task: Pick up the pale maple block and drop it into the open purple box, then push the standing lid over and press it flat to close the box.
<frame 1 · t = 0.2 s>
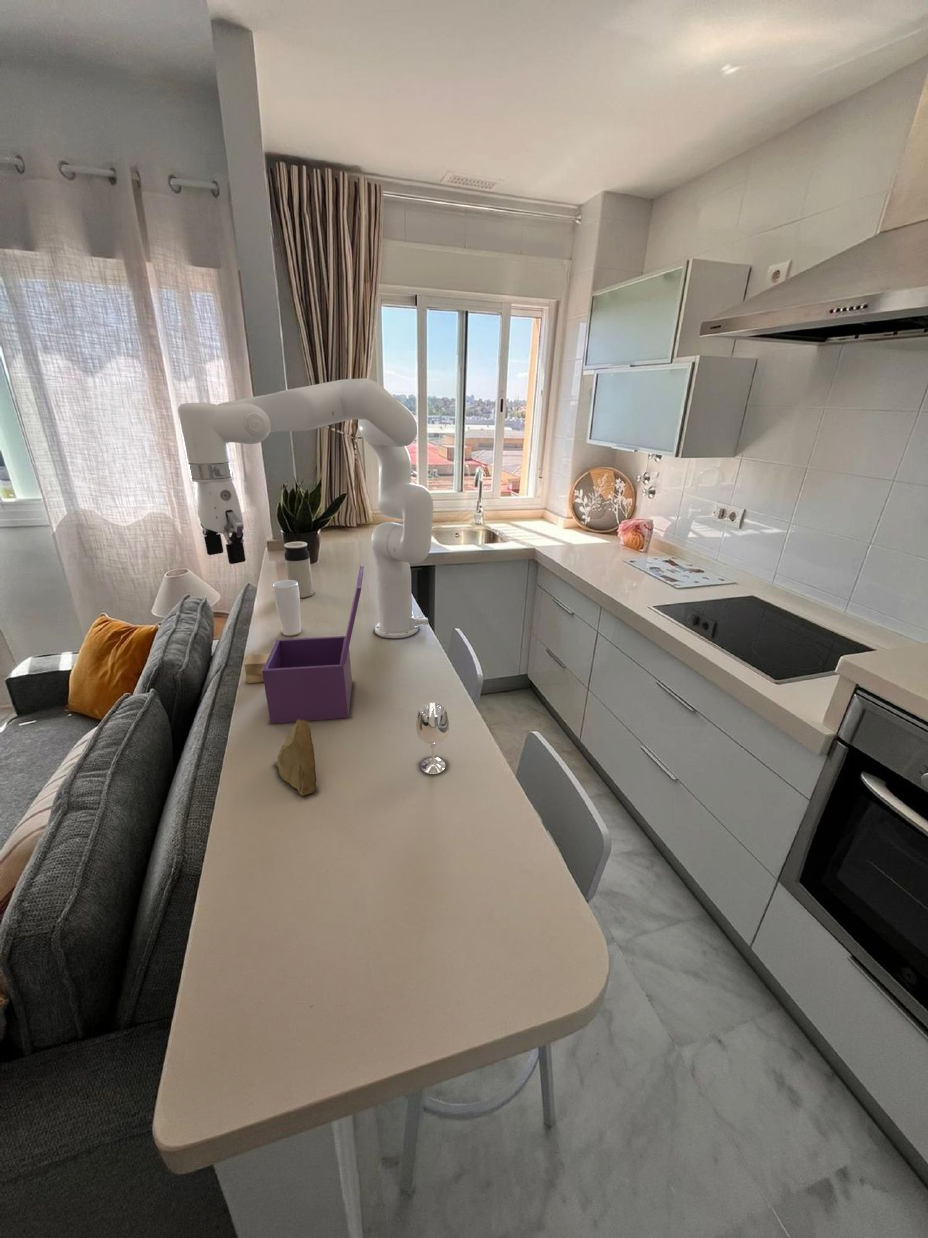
hand: (226, 558, 102), 31 cm above the worktop, tool pointing down, fingers open, 9 cm apart
wineglass: (433, 766, 90), on the worktop
purple box: (314, 702, 109), on the worktop
travel mug: (301, 595, 173), on the worktop
drinking glass: (292, 633, 143), on the worktop
lid: (353, 613, 103), point 21 cm above the worktop, hinge at 105.0°
block: (261, 677, 119), on the worktop
rock: (296, 779, 86), on the worktop
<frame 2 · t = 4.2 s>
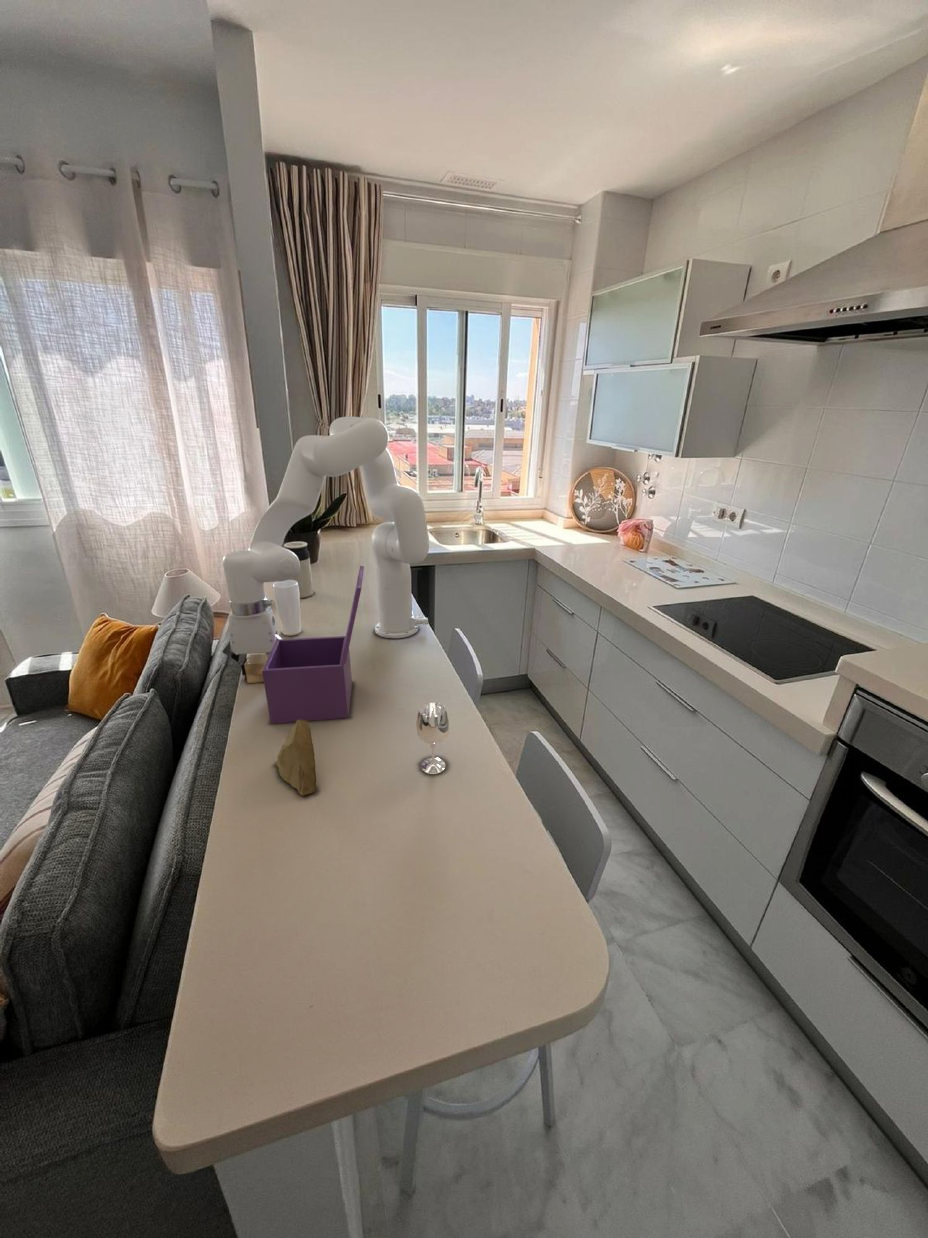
hand: (260, 675, 119), 0 cm above the worktop, tool pointing down, fingers closed on block, 5 cm apart
block: (261, 677, 119), on the worktop, touching gripper
everything else where it was.
when the fingers open (10 cm above the worktop, at t = 12.0 s): block drops 9 cm, resting on purple box.
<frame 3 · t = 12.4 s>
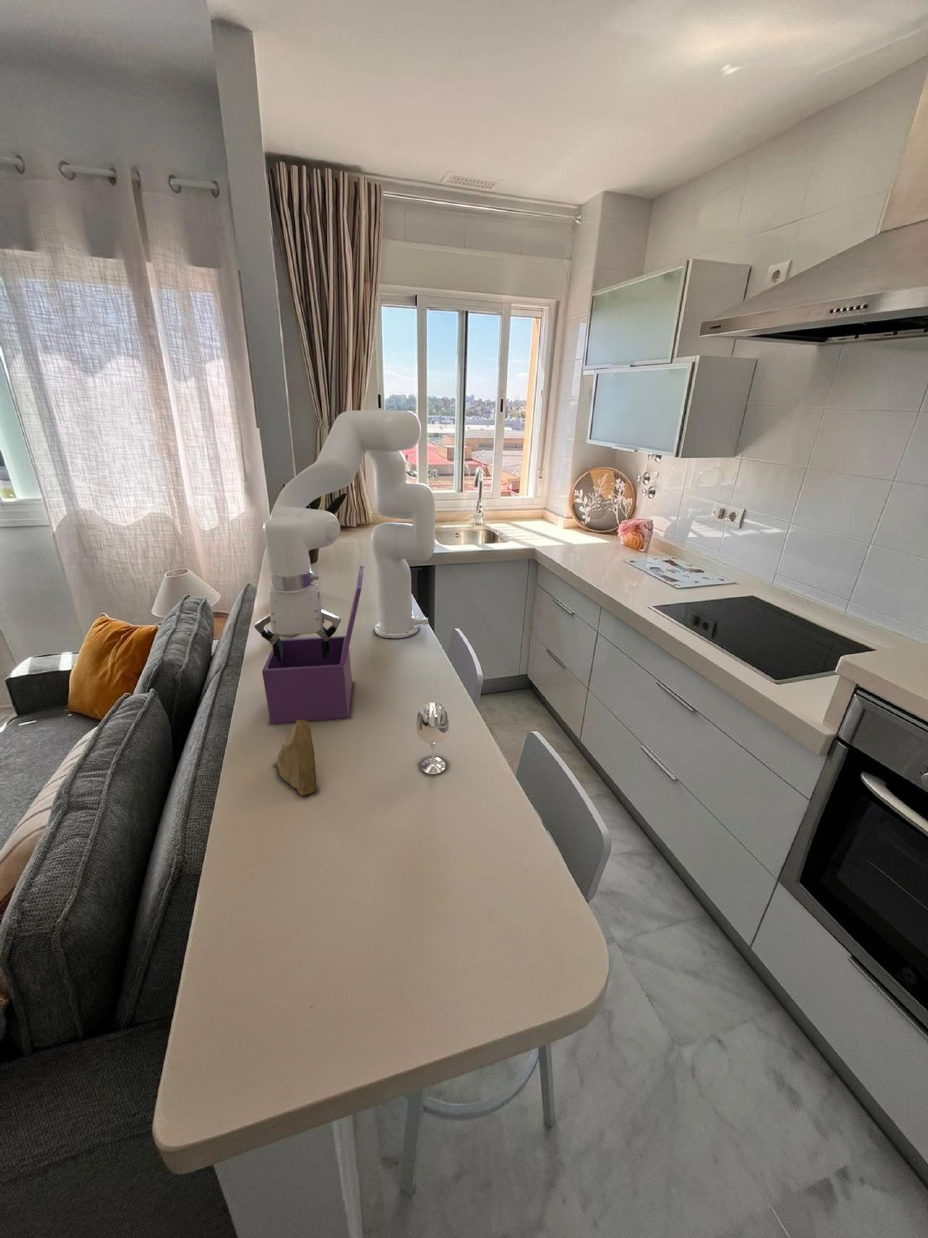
hand: (303, 656, 105), 11 cm above the worktop, tool pointing down, fingers open, 8 cm apart
block: (304, 699, 109), point 1 cm above the worktop, touching purple box
everything else where it was.
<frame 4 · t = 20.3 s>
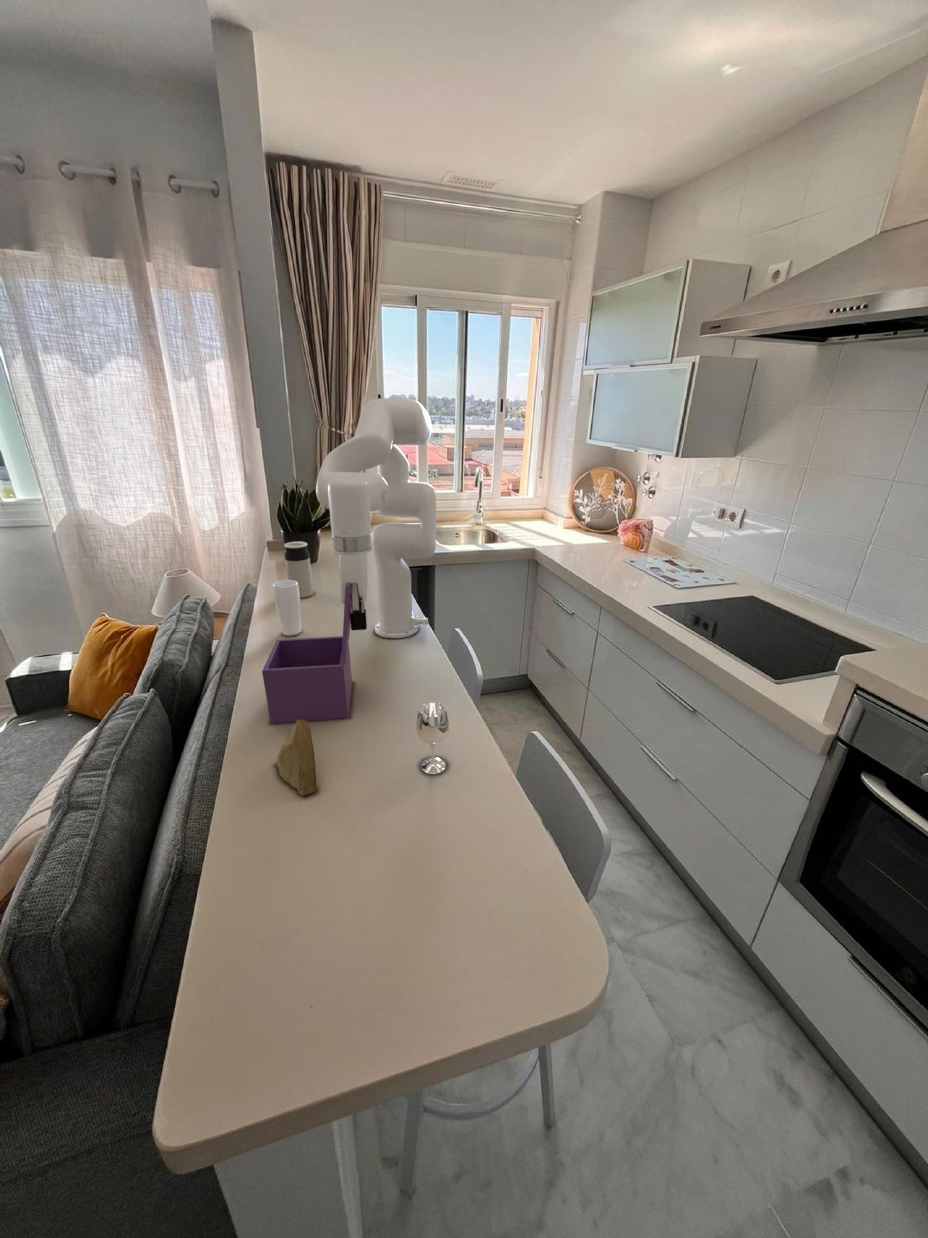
hand: (359, 628, 104), 17 cm above the worktop, tool pointing down, fingers closed
lid: (347, 612, 102), point 21 cm above the worktop, hinge at 97.4°, touching gripper
everything else where it was.
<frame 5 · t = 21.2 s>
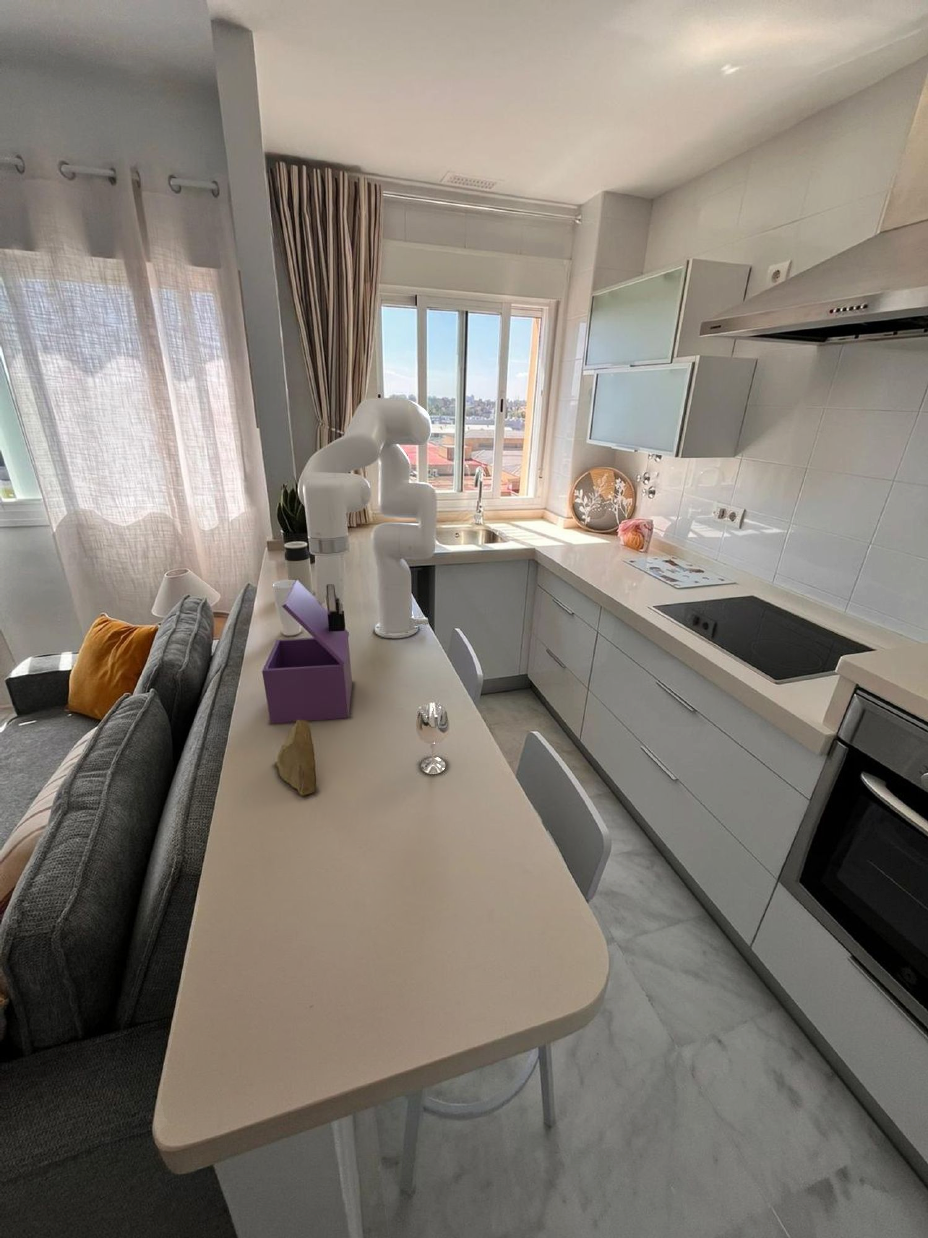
hand: (337, 629, 103), 17 cm above the worktop, tool pointing down, fingers closed
lid: (318, 620, 102), point 19 cm above the worktop, hinge at 52.8°, touching gripper
everything else where it was.
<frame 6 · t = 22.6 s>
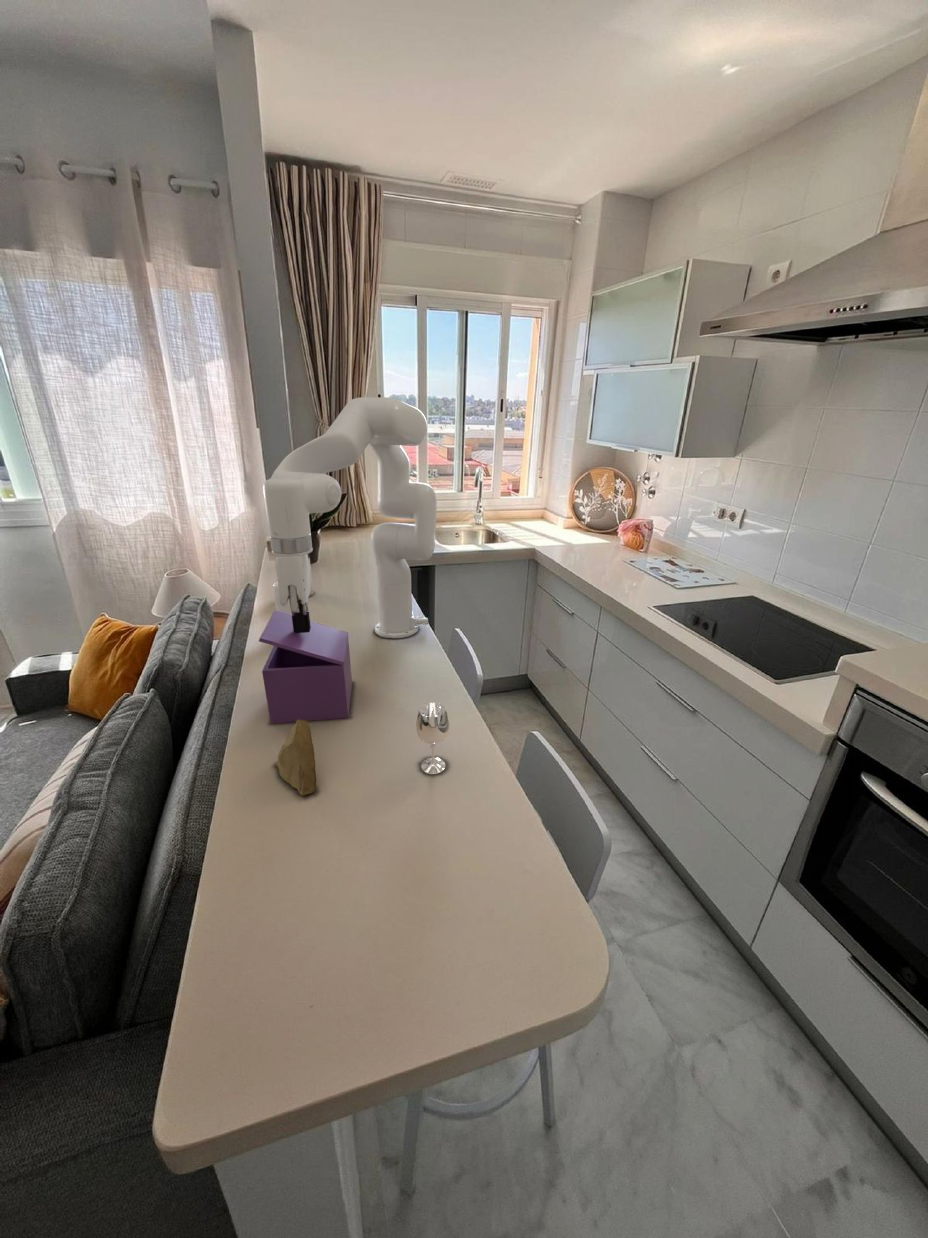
hand: (302, 630, 102), 17 cm above the worktop, tool pointing down, fingers closed
lid: (307, 636, 103), point 16 cm above the worktop, hinge at 22.4°
everything else where it was.
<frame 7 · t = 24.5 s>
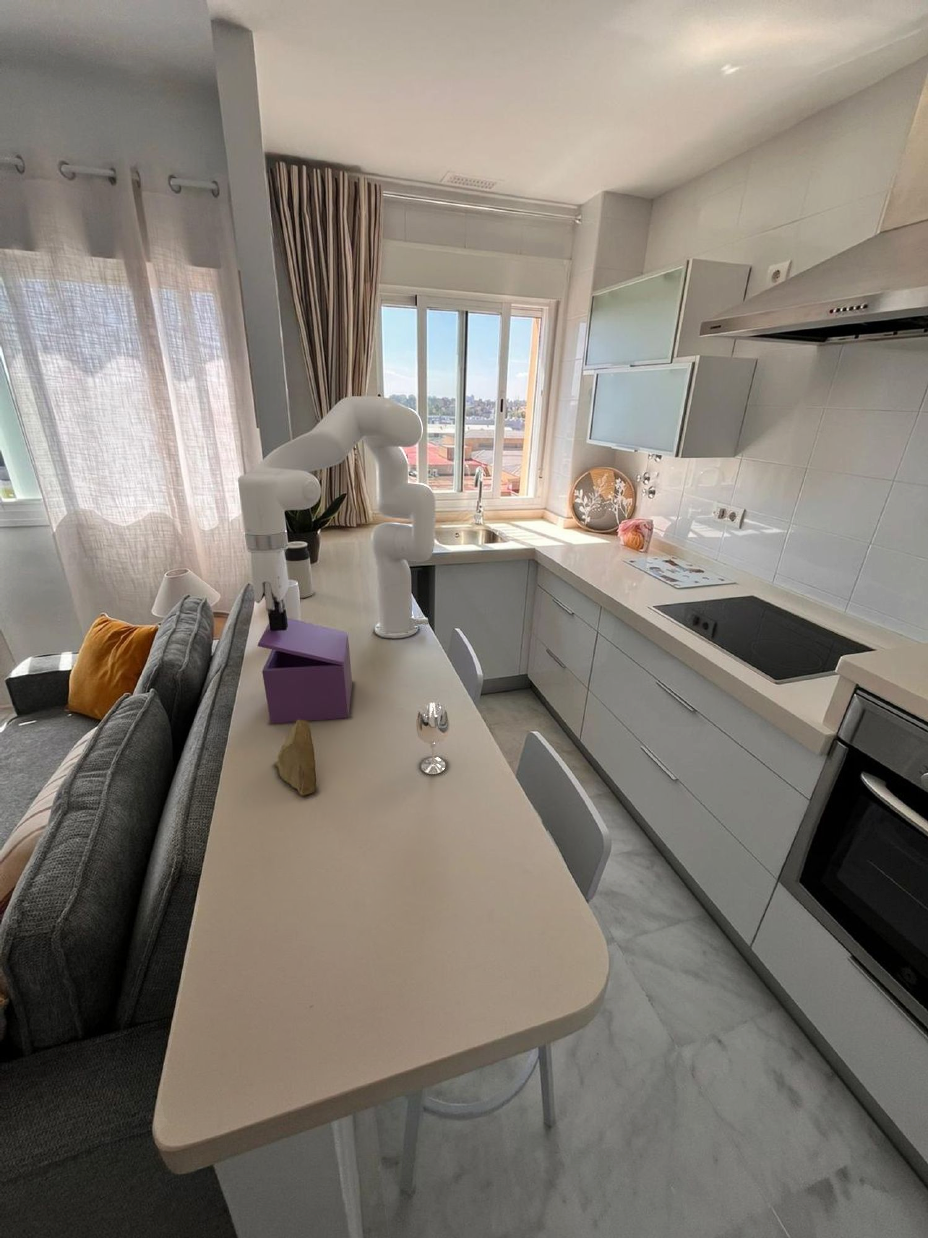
hand: (279, 628, 101), 18 cm above the worktop, tool pointing down, fingers closed
lid: (306, 638, 103), point 15 cm above the worktop, hinge at 18.6°, touching gripper
everything else where it was.
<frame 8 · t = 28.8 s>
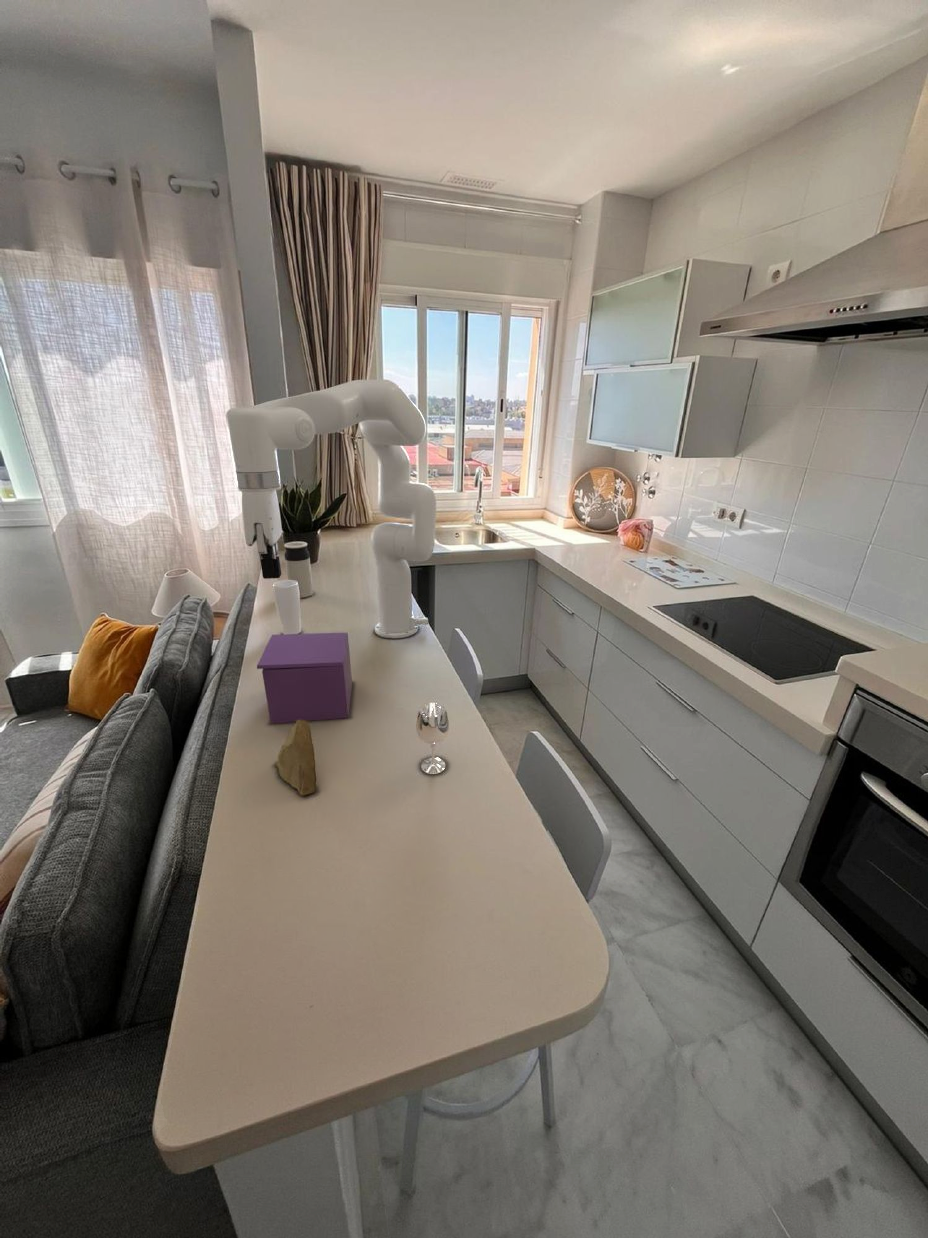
hand: (272, 576, 97), 29 cm above the worktop, tool pointing down, fingers closed
lid: (305, 649, 104), point 13 cm above the worktop, hinge at 1.4°
everything else where it was.
at the end: block inside the target area in the purple box (2.0 cm from its centre), point 0.8 cm above the purple box's base; lid at +1° (first picture: +105°) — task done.
